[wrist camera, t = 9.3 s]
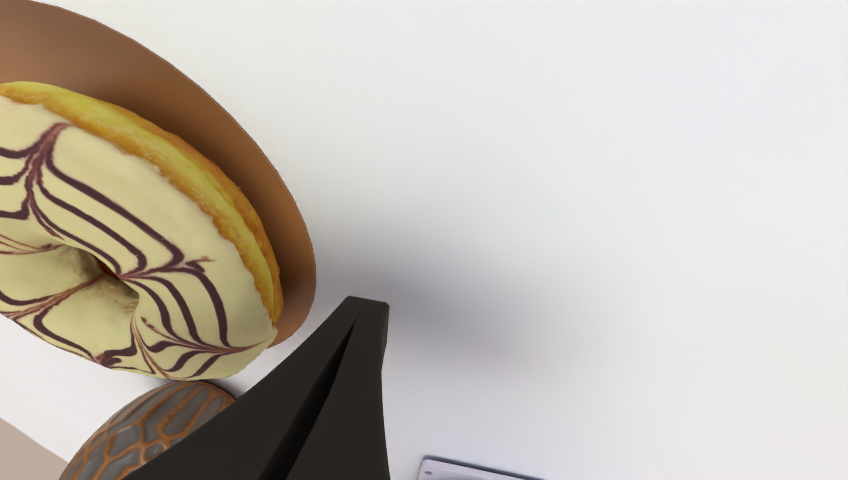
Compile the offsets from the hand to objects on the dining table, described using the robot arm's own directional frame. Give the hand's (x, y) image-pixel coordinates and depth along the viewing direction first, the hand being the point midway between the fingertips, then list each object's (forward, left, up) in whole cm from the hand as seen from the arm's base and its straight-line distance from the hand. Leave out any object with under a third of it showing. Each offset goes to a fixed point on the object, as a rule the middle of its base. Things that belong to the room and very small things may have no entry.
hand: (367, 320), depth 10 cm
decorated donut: (0, +9, -2) cm, 9 cm away
